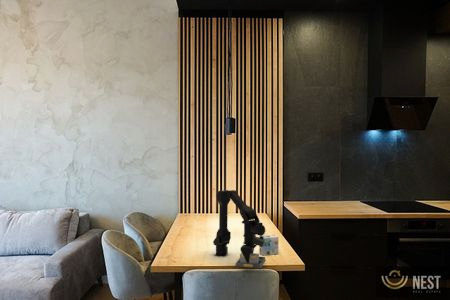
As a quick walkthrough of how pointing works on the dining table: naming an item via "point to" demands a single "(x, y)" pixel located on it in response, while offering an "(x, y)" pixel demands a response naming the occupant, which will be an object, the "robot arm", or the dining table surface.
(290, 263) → the dining table surface
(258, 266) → the grey shallow square tray
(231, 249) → the dining table surface
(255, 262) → the panel
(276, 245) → the light bulb box
